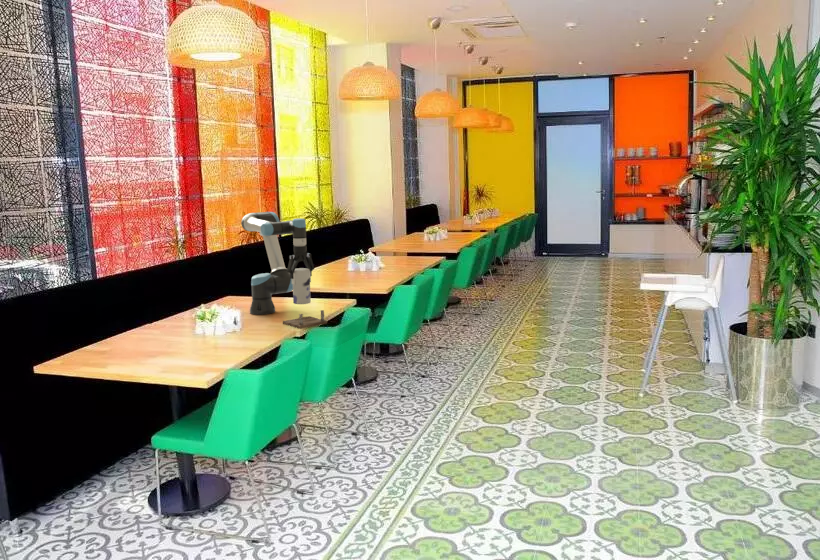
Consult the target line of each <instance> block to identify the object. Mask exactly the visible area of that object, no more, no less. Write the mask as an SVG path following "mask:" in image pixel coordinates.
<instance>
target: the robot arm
mask: <svg viewBox="0 0 820 560" xmlns="http://www.w3.org/2000/svg"><path fill="white" fill-rule="evenodd" d="M306 223H307V222H306V219H305V218H293V219H292V220H291V219H290V220H285V221H284V220H283V221H280V218H279V217H278V214H277V213H275V212H274V211H262V212H261V211H260V212H250V213H247V214H245V215H244V216H243V217H242V218H241V223H240V224H241V226H242V229H244V230H245V231H247V232H257V233H259V235H260V237H262V239H263V241H264V242H263V243H264V246H265V250H266V254H267V258H268V262H269V265H270V269H271V271H270V273H269V272H265V273H263V272H262V273H258V274H255V275H253V276H252V277H251V281H250V286H251V299H252V300H251V303H250V308H249V313H250V314H251V315H259V316H260V315H270V314H275V313H276V307H275V304H274V302H273V297H272V295H277V294H285V293H290V292H293V284H294V285H295V273H294V271H295V269H297V266H298V264H299V263H300V262H303V264H304V265H305V268H307V269H310V283H312V279H311V278H312V276H313V275H312V272H313V271H315V265H314V262H313V259H312V253H309V252H308V250H307V249H308V248H307V224H306ZM278 235H279V236H281V235H292V238H293V240H292V241H293V242H292V243H293V244H292V245H293V246H292V247H293V254H292V255H289V256H288V259H289V261H288V265H287V268H286V265H285V262H284V258H283V257H284V256H283V254H282V250H281V246H280V242H279V237H278Z"/></svg>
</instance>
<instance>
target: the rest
mask: <svg viewBox="0 0 820 560" xmlns="http://www.w3.org/2000/svg"><path fill="white" fill-rule="evenodd" d="M298 316H299V317H298V318H293V319H286V320H282V324H283V325H286V326H289V325H290V327H292V326H293V328H296V327H297V329H306V328H311V327H317V326H321V325H327V324H328V320H326V319H325V310H320V318H317V317H315V316H308V315H307V316H304V315H303V313H299V314H298ZM303 316H304V317H303Z"/></svg>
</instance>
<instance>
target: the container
mask: <svg viewBox="0 0 820 560" xmlns="http://www.w3.org/2000/svg"><path fill="white" fill-rule="evenodd" d="M294 273H295V285H294V284H293V290H292V297H293V298H292V300H293V304H294V305H307V304H311V302H312V301H311V282H310V269H307V267H305V268H304V267H299V268H297V267H296V268H295V271H294Z"/></svg>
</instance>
